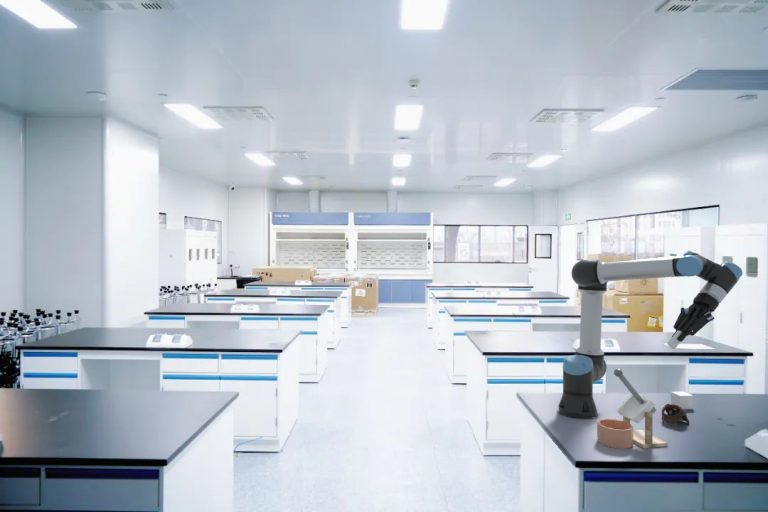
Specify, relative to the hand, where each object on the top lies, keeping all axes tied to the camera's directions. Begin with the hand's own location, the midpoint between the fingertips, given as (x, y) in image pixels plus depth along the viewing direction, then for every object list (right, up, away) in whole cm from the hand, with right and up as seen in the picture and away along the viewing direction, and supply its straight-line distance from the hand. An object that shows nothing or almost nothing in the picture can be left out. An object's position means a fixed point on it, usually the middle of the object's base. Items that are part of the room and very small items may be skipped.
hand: (670, 346), depth 175 cm
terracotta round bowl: (-23, -33, -5) cm, 41 cm away
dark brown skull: (+11, -34, +16) cm, 39 cm away
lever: (-12, -25, -3) cm, 28 cm away
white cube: (+26, -34, +35) cm, 55 cm away
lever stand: (-12, -33, -3) cm, 35 cm away
